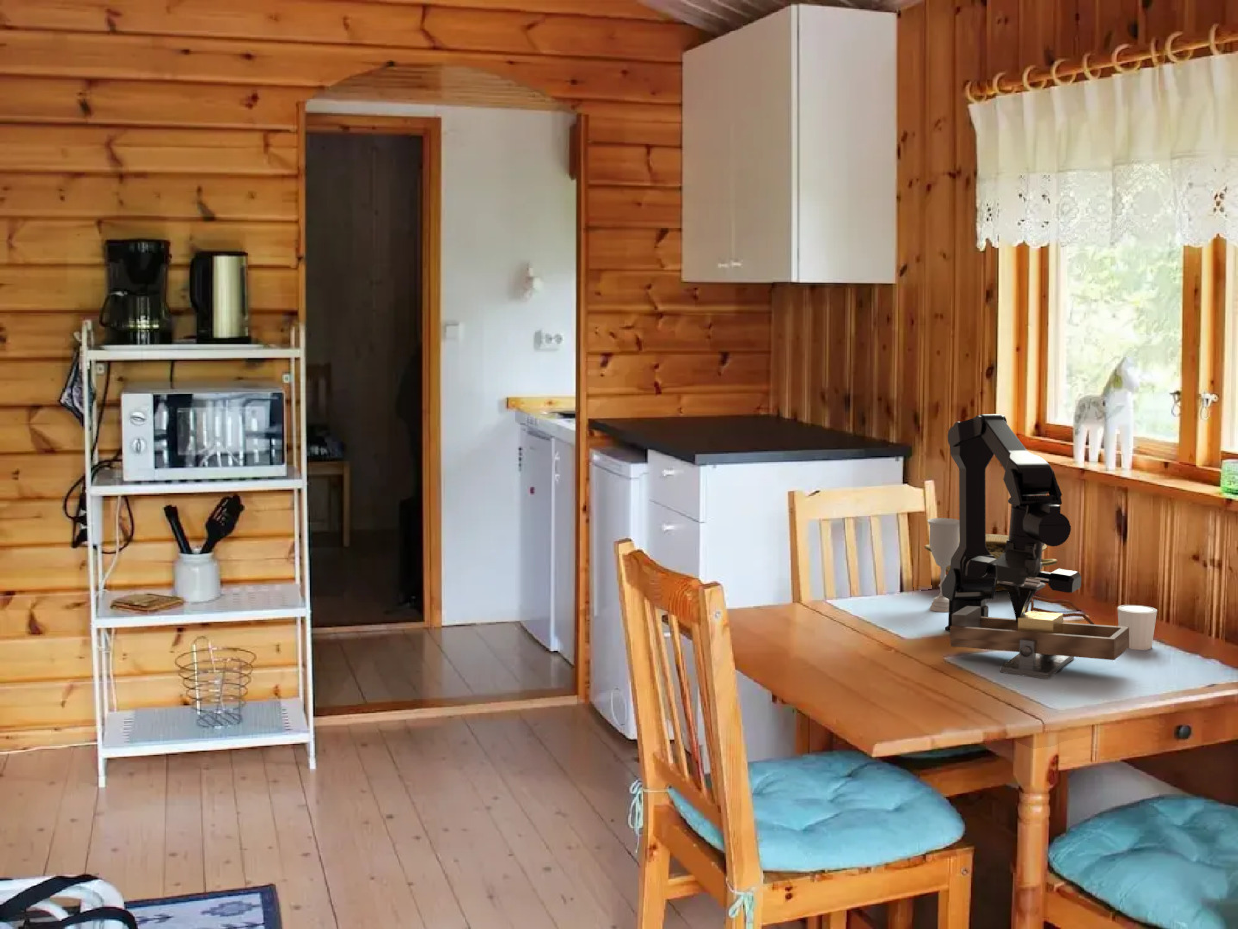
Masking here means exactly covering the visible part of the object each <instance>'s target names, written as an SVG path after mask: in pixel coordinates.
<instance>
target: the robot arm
mask: <svg viewBox="0 0 1238 929" xmlns="http://www.w3.org/2000/svg"><path fill="white" fill-rule="evenodd" d="M947 443H948V445H949V451H950V452H949V453H950V456H951V458H952V460H953V461H954V462H955V464H956V465H957V467H958V472H959V476H958V477H959V478H958V480H959V482H958V483H959V484H958V485H959V486H958V489H959V492H958V493H959V496H958V498H959V500H958V502H959V503H958V504H959V506H958V507H959V511H958V512H959V513H958V514H959V515H958V516H959V518H958V520H959V537H960V543H959V547H958V548H957V550H956V552H955V553H954V555H953V556H952V558H951V565H950V570H949V572H947V573H946V577H945V579H944V581H943V583H942V585H941V587H942V596H944V597H946V598H947V599H949V612H948V617H947V618H948V621H947V622H948V623H947V625H946V626H944V630H945V631H949V632H950V626H952V614H953V613H955V612H957V611H959V610H960V609H962V608H964V607H966V606H978V607H981V616H982V617H989V608H990V607H989V606H988V605H987V600H994V597H995V593H996V591H995V589H996V584H997V581H1000V582H999V586H1003V587H1004V588H1005V589H1006V590H1005V591H1006V592H1007V593H1008V596H1009V599H1010V601H1011V604H1012V609H1013V612H1014V613H1013V614H1014V616H1015V619H1016V622H1017V623H1018V617H1020V616H1022V615H1023V614H1025V610H1026V608H1027V606H1028V604H1029V602H1030V600H1031V599H1032V597H1033V596H1034V595H1035V594H1036V592H1038V591H1039V590H1041V589H1044V588H1045V587H1046V584H1048V586H1049V587H1050V589H1051V590H1052V591H1056V592H1062V593H1067V594H1068V593H1070V594H1071V593H1072V594H1073V593H1074V592H1075V591H1077V590H1078V589H1080V588H1081V587H1082V575H1081V573H1080V572H1079V571H1076V570H1069V569H1064V568H1057V569H1055V570H1054V571H1052V572H1049V571H1044V570H1043V571H1042V569H1043V567H1042V565H1043V563H1041V559H1043V558H1042V556H1043V551H1042V547H1043V546H1044V544H1046V545H1047V547H1058V546H1060V545H1063V544H1064V543H1065V542H1066V541H1067V540H1068V539H1069V537H1070V535H1071V533H1072V528H1071V527H1072V526H1071V524H1070V521H1069V519H1068V518H1067V517H1068V516H1066V515H1065V514H1063V513H1061V505H1062V504H1063V501H1062V496H1063V494H1062V491H1061V488H1060V486H1059V483H1058V480H1057V478H1056V474H1055V471H1054V470H1053V468H1052V466H1051V465H1050V463H1048V461H1046V460H1045V459H1044V458H1043V457H1041V456H1039V455H1036V454H1033V453H1031V452H1030V451H1028V450H1027V448H1026V447H1025V446H1024V445H1023V443H1022V442H1021V441H1020V439H1019V438H1018V436H1017V435H1016V434H1015V432H1014V431H1013V430H1012V429H1011V427H1010V426H1009V425H1008V420H1007V417H1006V416H1005V415H1004V414H1003V415H1002V414H1001V413H990V414H989V413H986V414H985V413H983V414H982V413H981V414H978V415H976V416H975V417H972V418H970V419H966V420H963V421H962V420H961V421H956V422H954V423H953V425H952V426H951V427H950V428H948V432H947ZM994 456H995V457H996V459H997V461H998V462H999V463H1000V465H1001V466H1002V468H1003V470H1004V475H1003V477H1002V478H1003V479H1002V480H1003V482H1004V484H1005V487H1006V489H1007V492H1008V494H1009V495H1010V497H1009V498H1008V500H1007V502H1008V504H1010V505H1011V507H1010V517H1009V518H1010V519H1009V520H1010V521H1009V523H1010V524H1009V530H1008V536H1009V540H1007V543H1006V548H1005V550H1004V553H1003V554H1002V555H1001V556H1000V557H999V559H998V560H997V559H995V557H994V556H992V555H991V554H990V552H989V551H988V549H987V547H986V534H987V531H986V529H987V527H986V525H987V522H986V517H987V515H986V513H987V512H986V500H987V499H986V498H987V497H986V485H987V484H986V469H987V467H988V466H989V464H990V462H991V461H992V459H993V458H994ZM1030 603H1031V602H1030ZM1029 605H1030V604H1029Z"/></svg>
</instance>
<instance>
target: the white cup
mask: <svg viewBox="0 0 1238 929" xmlns="http://www.w3.org/2000/svg"><path fill="white" fill-rule="evenodd" d="M1157 615H1158V609H1157V608H1154V607H1151V606H1147V605H1140V604H1122V605H1118V606H1117V620H1118V621H1117V622H1118V623H1117V624H1118V625H1117V626H1122V627H1129V648H1128V649H1130V650H1137V651H1142V650H1143V651H1147V650H1151V649H1152V647H1153V642H1154V634H1155V626H1156V621H1157ZM1128 649H1127V650H1128Z"/></svg>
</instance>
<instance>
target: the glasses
mask: <svg viewBox="0 0 1238 929" xmlns="http://www.w3.org/2000/svg"><path fill="white" fill-rule="evenodd" d="M1034 600H1035V601H1040V602H1044V603H1049V604H1057V603H1062V604H1069V605H1070V607H1072V608H1073V609H1075V611H1077V610H1082V609H1081V608H1080V607H1078V606H1077V605H1076V604H1074V602H1072V601H1071V600H1068V599H1048V598H1043V597H1040V596H1039V597H1038V596H1034V595H1033V597H1032V599H1031V600H1030V602H1029V604H1028V606H1027V608H1026V610H1025V612H1024V614H1025V613H1027V612H1028V611H1035V612H1049V613H1059V612H1058V611H1053V610H1048V609H1043V608H1038V607H1034V604H1035V601H1034ZM1029 606H1030V610H1029ZM1069 617H1081V618H1083V619H1084V620H1085V621H1087V623H1088V624H1094V625H1096V623H1094V621H1092V619H1090V618H1089V617H1088V616H1087V615H1086V614H1085V613H1077V612H1071V613H1063V618H1069Z"/></svg>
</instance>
